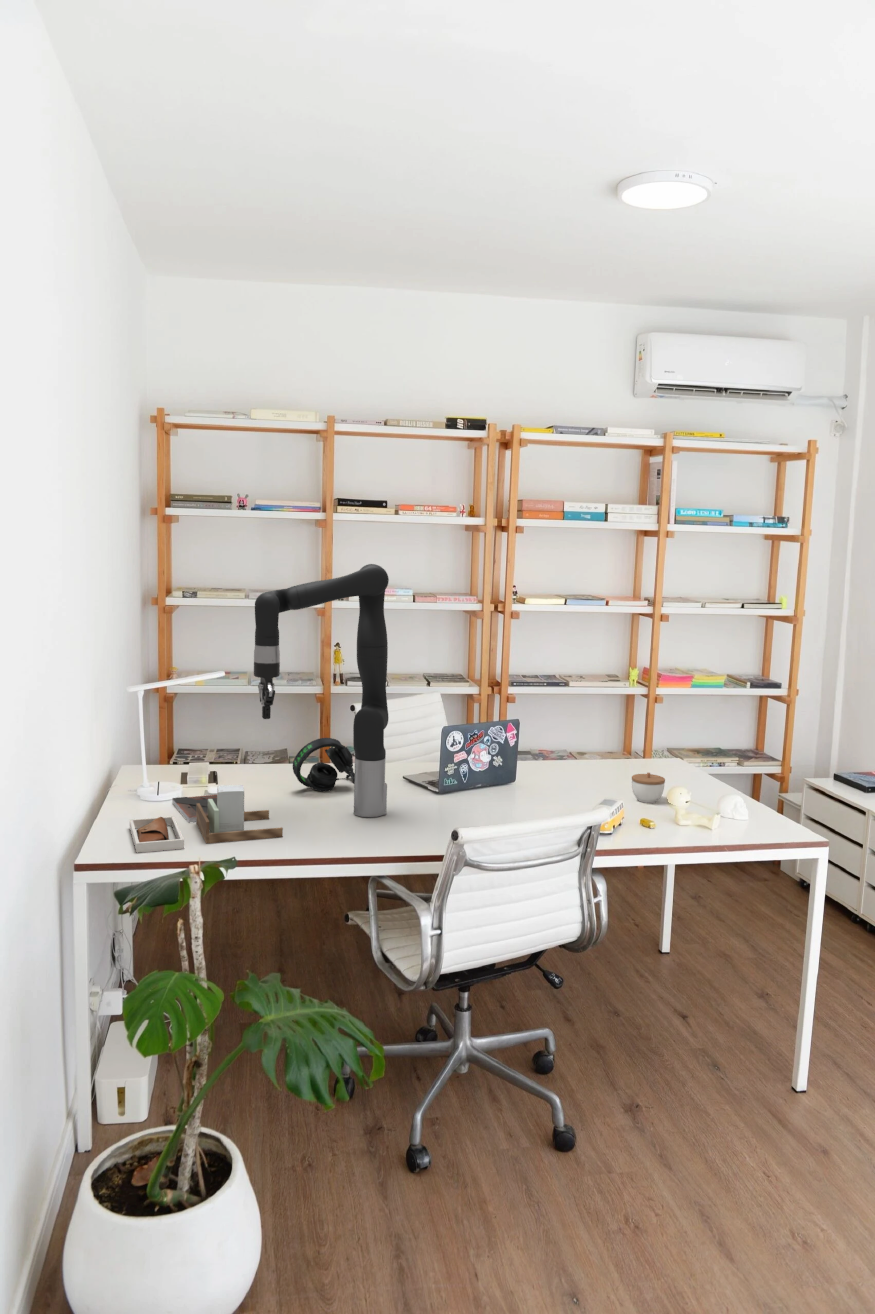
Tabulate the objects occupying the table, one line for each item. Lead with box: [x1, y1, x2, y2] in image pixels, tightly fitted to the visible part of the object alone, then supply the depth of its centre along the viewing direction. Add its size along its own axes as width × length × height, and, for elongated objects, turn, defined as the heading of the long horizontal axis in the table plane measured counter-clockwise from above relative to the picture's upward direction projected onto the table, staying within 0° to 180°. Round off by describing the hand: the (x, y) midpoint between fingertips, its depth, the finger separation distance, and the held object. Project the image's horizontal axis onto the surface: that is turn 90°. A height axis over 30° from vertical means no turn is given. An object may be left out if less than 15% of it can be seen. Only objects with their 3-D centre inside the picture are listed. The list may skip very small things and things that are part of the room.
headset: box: [292, 737, 355, 792], centre depth 320 cm, size 18×14×29 cm
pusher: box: [208, 799, 219, 833], centre depth 269 cm, size 1×12×8 cm, turn 22°
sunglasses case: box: [136, 816, 170, 842], centre depth 263 cm, size 18×7×7 cm
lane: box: [195, 803, 284, 844], centre depth 272 cm, size 21×19×6 cm
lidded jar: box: [631, 772, 666, 804], centre depth 318 cm, size 11×11×9 cm
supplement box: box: [216, 784, 245, 833], centre depth 270 cm, size 7×7×13 cm
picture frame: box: [171, 793, 246, 824], centre depth 291 cm, size 16×2×22 cm
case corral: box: [129, 815, 185, 854], centre depth 262 cm, size 12×22×2 cm, turn 22°
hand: (266, 718), depth 285 cm, fingers closed
